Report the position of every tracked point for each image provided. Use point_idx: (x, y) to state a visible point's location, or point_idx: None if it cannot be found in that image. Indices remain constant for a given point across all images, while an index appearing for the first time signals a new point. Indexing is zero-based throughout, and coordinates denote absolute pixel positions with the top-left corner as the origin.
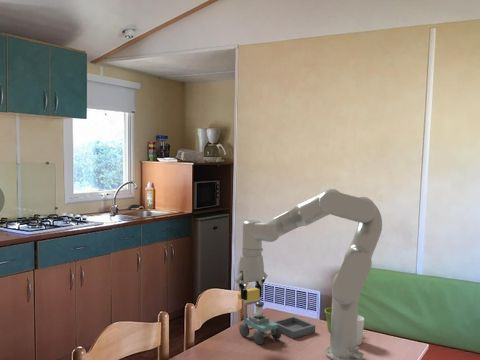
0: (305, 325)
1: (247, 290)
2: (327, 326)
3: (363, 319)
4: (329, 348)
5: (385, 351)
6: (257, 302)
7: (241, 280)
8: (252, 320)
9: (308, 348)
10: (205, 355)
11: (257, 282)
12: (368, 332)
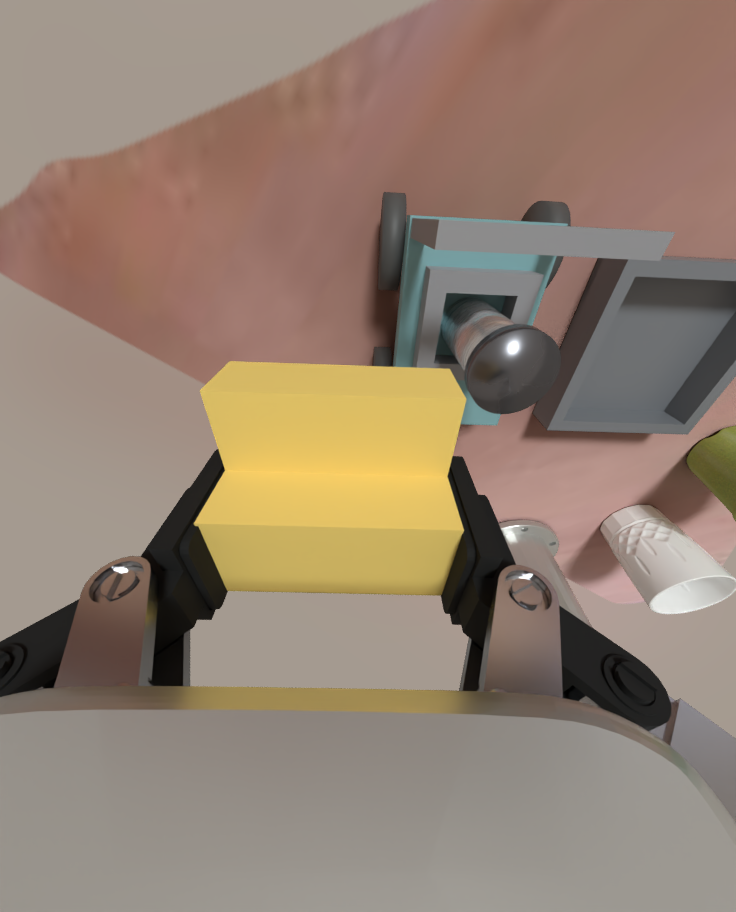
0: (700, 379)
1: (260, 565)
2: (723, 444)
3: (694, 605)
4: (512, 531)
5: (601, 575)
6: (509, 357)
7: (58, 707)
8: (421, 313)
9: (488, 486)
10: (92, 323)
11: (513, 633)
12: None
